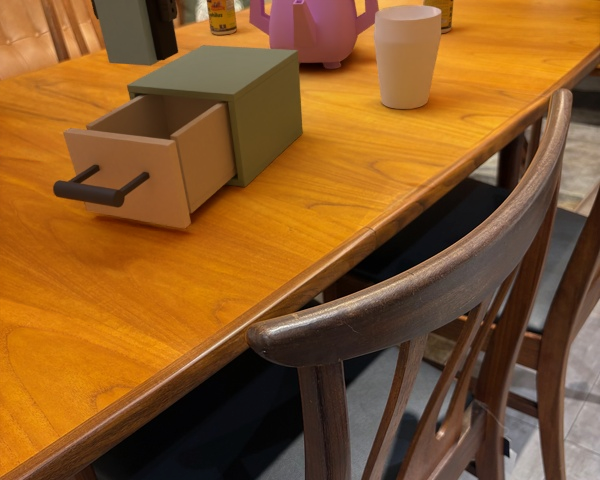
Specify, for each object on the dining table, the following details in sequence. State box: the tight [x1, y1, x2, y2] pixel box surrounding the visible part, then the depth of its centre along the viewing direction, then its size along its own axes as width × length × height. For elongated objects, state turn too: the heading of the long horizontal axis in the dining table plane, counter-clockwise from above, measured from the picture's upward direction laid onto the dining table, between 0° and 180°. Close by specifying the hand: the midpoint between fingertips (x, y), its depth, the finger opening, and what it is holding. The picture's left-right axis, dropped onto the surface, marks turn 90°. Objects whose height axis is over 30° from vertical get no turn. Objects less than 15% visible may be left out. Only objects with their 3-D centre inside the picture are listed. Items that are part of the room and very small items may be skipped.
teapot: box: [248, 0, 380, 70], centre depth 104 cm, size 19×18×15 cm
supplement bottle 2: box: [422, 0, 455, 34], centre depth 116 cm, size 6×6×10 cm
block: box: [94, 0, 179, 67], centre depth 60 cm, size 5×5×6 cm
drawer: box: [52, 93, 237, 230], centre depth 64 cm, size 21×12×9 cm, turn 156°
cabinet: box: [126, 44, 304, 188], centre depth 75 cm, size 17×14×11 cm
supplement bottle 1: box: [206, 0, 238, 36], centre depth 126 cm, size 6×6×10 cm
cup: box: [373, 4, 442, 110], centre depth 85 cm, size 9×9×12 cm
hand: (143, 54), depth 61 cm, fingers closed on block, 5 cm apart
